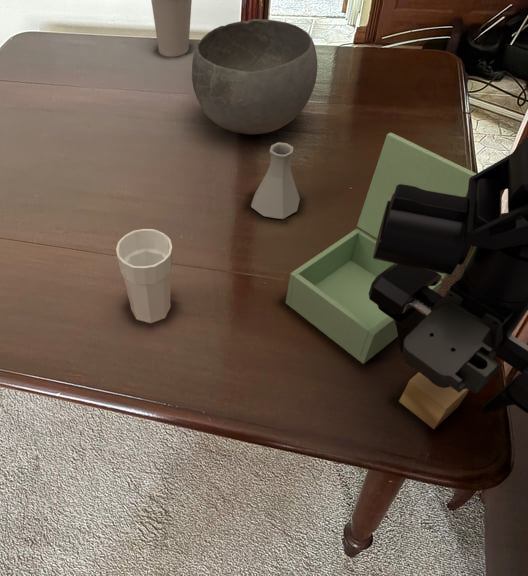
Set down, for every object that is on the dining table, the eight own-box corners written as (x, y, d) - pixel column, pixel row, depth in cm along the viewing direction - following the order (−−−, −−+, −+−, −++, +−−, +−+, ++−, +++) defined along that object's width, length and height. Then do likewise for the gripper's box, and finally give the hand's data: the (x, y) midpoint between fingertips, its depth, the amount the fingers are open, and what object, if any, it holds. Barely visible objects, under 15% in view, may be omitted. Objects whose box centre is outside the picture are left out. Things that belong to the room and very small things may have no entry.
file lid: (491, 184, 57) (494, 182, 57) (386, 133, 64) (390, 131, 64) (442, 279, 66) (446, 277, 66) (356, 226, 73) (360, 224, 73)
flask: (285, 226, 83) (293, 170, 76) (242, 209, 86) (245, 154, 79) (307, 199, 87) (317, 143, 79) (265, 183, 90) (271, 129, 82)
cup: (115, 309, 75) (104, 249, 67) (150, 281, 78) (144, 221, 70) (150, 335, 72) (143, 277, 63) (186, 306, 74) (183, 245, 66)
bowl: (289, 86, 109) (299, 6, 98) (324, 146, 95) (340, 60, 84) (184, 101, 109) (182, 21, 97) (204, 163, 95) (204, 78, 84)
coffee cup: (204, 46, 123) (204, -28, 112) (176, 64, 118) (173, -12, 107) (170, 36, 127) (167, -37, 116) (142, 52, 123) (136, -21, 112)
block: (458, 406, 62) (472, 384, 59) (433, 429, 60) (446, 408, 57) (423, 380, 64) (435, 357, 61) (398, 401, 63) (409, 380, 59)
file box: (363, 364, 66) (374, 335, 62) (285, 303, 73) (290, 273, 69) (428, 311, 71) (443, 280, 66) (349, 258, 78) (357, 227, 74)
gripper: (347, 262, 49) (320, 363, 61) (564, 408, 39) (482, 497, 50) (426, 206, 53) (386, 311, 65) (643, 325, 43) (550, 425, 54)
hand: (443, 379), depth 59 cm, fingers open, 9 cm apart
